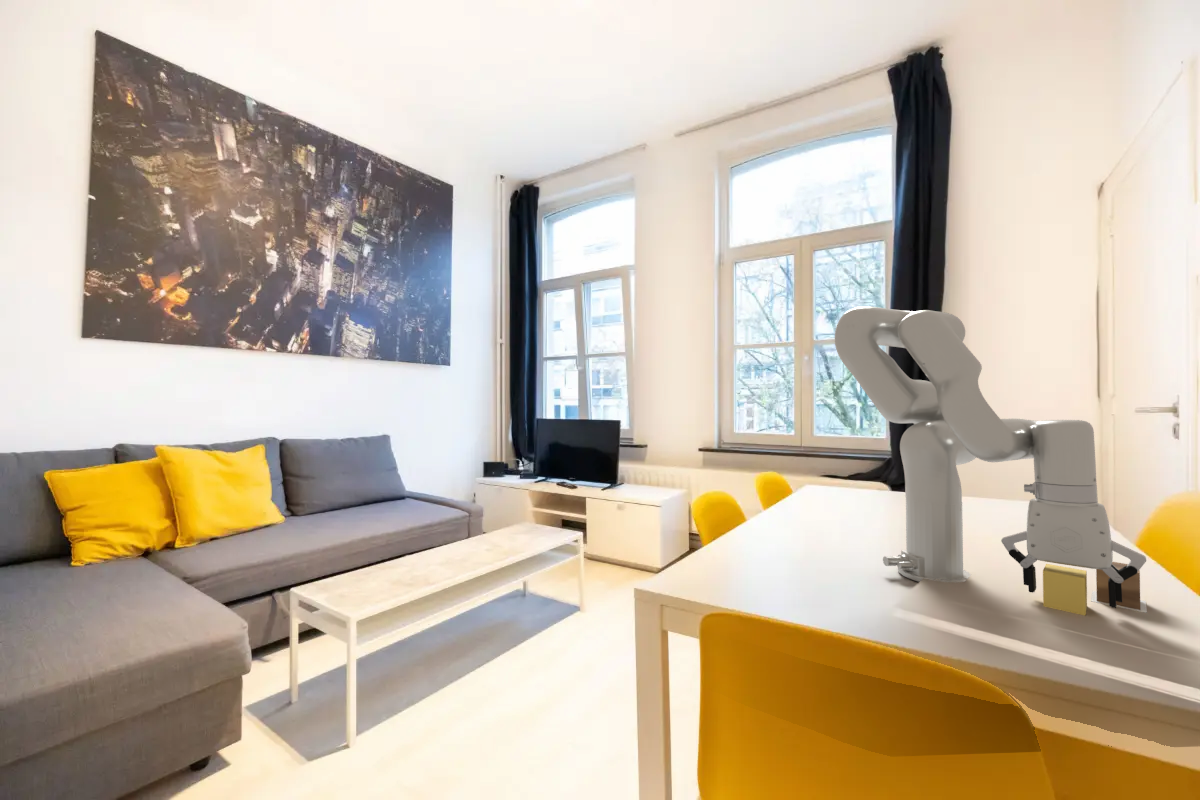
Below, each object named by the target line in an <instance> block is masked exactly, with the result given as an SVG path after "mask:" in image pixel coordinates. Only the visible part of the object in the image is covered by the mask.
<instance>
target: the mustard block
mask: <svg viewBox="0 0 1200 800" xmlns="http://www.w3.org/2000/svg"><path fill="white" fill-rule="evenodd" d="M1087 576H1088V575H1087V570H1084V569H1078V568H1072V567H1067V566H1061V565H1056V564H1049V563H1045V565H1044V567H1043V570H1042V592H1043V593H1042V597H1043V598H1042V601H1043V603H1042V604H1043V605H1042V606H1043V607H1045V608H1049V609H1053V610H1058V611H1063V612H1067V613H1072V614H1077V615H1081V616H1086V614H1087V609H1088V585H1087V582H1088V581H1087V579H1088V578H1087Z"/></svg>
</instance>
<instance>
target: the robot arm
mask: <svg viewBox="0 0 1200 800" xmlns="http://www.w3.org/2000/svg"><path fill="white" fill-rule="evenodd" d="M835 327H836V328H835V332H834V346H835V350H836V352H837V354H838V357H839V359H840V360H841V361H842V363H843V364H844V366H845V367H846V369H847V370H848V371H849V372H850V373H851V374H852V376H853V377H854V378H855V380H856V381H857V383H858V384H859V385H860V387H861V388H862V390H863V391H864V393H865V394H866V395H867V397H868V398H869V399H870V401H871V402H872V403H873V405H874V406H875V407H876V409H877V410H878V411H879V413H880V414H881V416H882V417H883V418H884V419H885V420H887V421H888V422H891V423H892V424H893V423H894V424H912V425H911V426H909V427H908V428H907V429H905V431H904V432H903V434H902V435H901V438H900V441H899V451H900V452H899V453H900V456H901V462H902V465H903V466H902V467H903V473H904V489H905V492H904V493H905V495H904V496H905V538H906V539H905V541H906V545H905V546H906V549H902V550H901V551H900V552H901V553H900V554H898V555H897V556H893V555H888V556H887V555H884V556H883V558H882V562H883V565H884V566H886V567H896V566H897V571H898V573H899V574H900V575H902V576H903V577H905V578H907V579H910V580H912V581H915V582H919V583H920V582H921V581H922V580H923V579H925V580H930V581H936V582H942V583H964V582H966V581H967V579H969V578H970V576H971V575H972V574H971V573H970V572H969V571H967V570H965V569H964V542H963V541H964V540H963V539H964V537H963V533H964V532H963V493H962V492H963V491H962V483H961V479H960V475H959V472H958V469H957V468H958V467H957V466H960V465H964V464H967V463H970V462H973V460H976V459H979V460H981V461H984V462H987V463H988V462H989V463H1002V462H1003V463H1004V462H1009V461H1018V460H1019V461H1020V460H1026V459H1027V460H1028V459H1033V469H1034V471H1033V472H1034V482H1032V483H1029V484H1028V483H1026V484H1025V483H1024V484H1023V491H1024V493H1030V494H1032V495H1034V498H1031V499H1030V500H1029V502H1028V506H1027V507H1028V508H1027V514H1026V516H1027V517H1026V530H1025V531H1022V532H1017V533H1014V534H1011V535H1007V536H1004V537H1002V538H1001V541H1000V542H1001V543H1002V546H1004V548H1005V549H1006V551H1007V552H1008V555H1009V556H1010V557H1011V558H1012V559H1014V560H1015V562H1017V563H1018V564H1019V566H1020V567H1021V568H1022V575H1023V576H1022V578H1023V585H1025V586H1028V592H1029V593H1032V594H1033V593H1035V592H1036V589H1037V578H1036V577H1037V575H1036V574H1037V573H1036V566H1035V564H1034V563H1035V562H1037V561H1039V562H1040V561H1041V562H1044V563H1045V562H1047V563H1052V564H1059V565H1064V566H1072V567H1079V568H1085V569H1086V568H1087V569H1092V570H1093V569H1094V570H1096V569H1102V570H1103V571H1104V572H1105V573H1106V574H1107V575H1108V576H1109V577H1110V578H1108V589H1109V605H1108V607H1111V608H1112V609H1117V607H1116V601H1117V602H1122V586H1121V583H1122V582H1123V581H1124V580H1126V579H1128V578H1130V577H1132V576H1134V575H1135V574H1137V572H1138V571H1139V569H1140V570H1141V569H1142V567H1143V566H1144V565H1145V564H1146V562H1147V557H1146V556H1145V555H1144V554H1142V553H1140V552H1138V551H1135V550H1133V549H1131V548H1129V547H1128V546H1125V545H1124V544H1120V543H1118V542H1116V541H1114V540H1113V539H1112V534H1111V533H1112V532H1111V528H1110V527H1111V526H1110V521H1109V518H1108V513H1107V511H1106V508H1105V505H1104V504H1102V503H1099V500H1098V485H1097V467H1096V466H1097V464H1096V447H1095V446H1096V445H1095V432H1094V428H1093V425H1092V424H1091V423H1090V422H1088V421H1086V420H1083V419H1082V420H1080V419H1046V420H1031V419H1026V418H1001V417H1000V416H999V415H998V413H996V411H994V410H993V408H992V407H991V406H990V404H989V403H988V401H987V400H986V398H985V397H984V396H983V394H982V392H981V389H980V386H979V378H980V375H981V374H982V369H983V367H982V366H983V365H982V364H981V362H980V361H979V360H978V358H977V356H975V355H974V353H973V352H972V351H971V350H970V348H968V346H966V344H965V343H964V342H963V341H964V340H965V337H966V328H965V325H964V323H963V321H962V320H961V319H960V318H959V317H958V316H956V315H954V314H953V313H949V312H943V311H939V310H938V311H935V310H932V309H931V310H929V309H923V310H916V311H913V310H911V311H910V310H900V309H892V308H887V307H886V308H885V307H876V306H867V305H866V306H865V305H864V306H857V307H854V308H851V309H849V310H847V311H846V312H844V313H843V314H842V316H840V317H839V320H838V322H837V324H836V326H835ZM880 346H883V347H886V346H887V347H892V348H893V347H894V348H895V347H896V348H903V349H906V351H907V352H908V353H909V354H910V356H911V357H912V359H913V360H914V361H915V363H916V364H917V365H918V366H919V368H920V369H921V371H922V372H923V373H924V375H925V376H926V378H928V380H929V381H928V380H922V379H912V378H910V377H909V375H907V374H906V373H905V372H904V371H903V369H901V367H900V366H899V365H898V363H897V362H896V361H895V359H894V358H893V357H891V356H890V355H889V354H888V353H887V352H885V350H883V349H882V348H881V347H880ZM1023 541H1026V550H1027V551H1026V552H1027V555H1024V554H1023V553H1022V552H1021V551H1020V550H1019V549H1017V546H1016V543H1020V542H1023ZM1113 552H1115V553H1116V554H1119V555H1120V556H1123V557H1125V558H1127V559H1129V560H1130V561H1129V562H1128V563H1127V564H1128V565H1127V566H1125V567H1123V568H1121V569H1120V570H1118V569H1117V568H1116V567H1115V566H1114V565H1113V564H1112V562H1114V561H1113V560H1114V559H1113V557H1114V556H1113V554H1114V553H1113Z"/></svg>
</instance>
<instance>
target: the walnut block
mask: <svg viewBox="0 0 1200 800" xmlns="http://www.w3.org/2000/svg"><path fill="white" fill-rule="evenodd" d="M1112 564H1113V565H1114V566H1115V567H1116V568H1117V569H1118V570H1120V569H1121V568H1123V567H1125V566H1127V565H1128V564H1129V563H1124V562H1116V561H1112ZM1095 570H1096V572H1095V575H1096V592H1097V601H1099V602H1104V603H1109V589H1108V578H1110V577H1109V576H1108V575H1107V574H1106V573H1105V572H1104V571H1103V570H1102V569H1095ZM1140 570H1141V568H1140V569H1139V571H1138V572H1137V574H1135V575H1134V576H1132V577H1130V578H1128V579H1126V580H1124V581H1123V582H1122V583H1121V586H1122V602H1117V601H1116V605H1118V606H1123V607H1128V608H1133V609H1138V610H1140V600H1141V571H1140Z"/></svg>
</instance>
